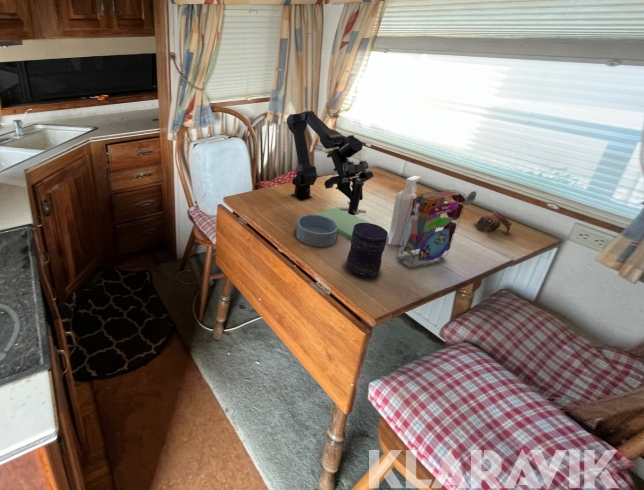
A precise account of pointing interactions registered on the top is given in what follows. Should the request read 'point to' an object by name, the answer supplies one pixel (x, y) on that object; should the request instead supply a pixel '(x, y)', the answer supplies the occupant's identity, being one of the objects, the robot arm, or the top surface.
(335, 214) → the cutting board
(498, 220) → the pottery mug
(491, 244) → the top surface
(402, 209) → the white pump bottle
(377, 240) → the storage jar
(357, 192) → the black post stand
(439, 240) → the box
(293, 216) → the top surface
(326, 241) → the bowl
